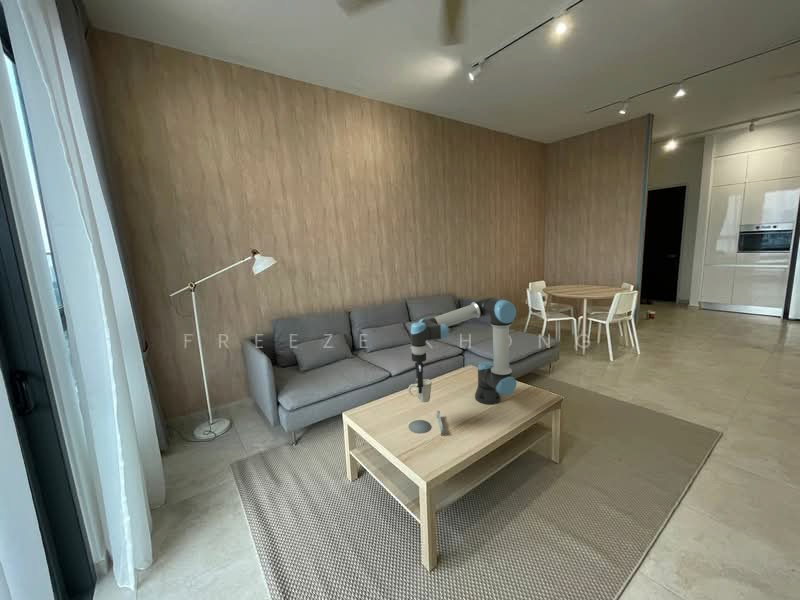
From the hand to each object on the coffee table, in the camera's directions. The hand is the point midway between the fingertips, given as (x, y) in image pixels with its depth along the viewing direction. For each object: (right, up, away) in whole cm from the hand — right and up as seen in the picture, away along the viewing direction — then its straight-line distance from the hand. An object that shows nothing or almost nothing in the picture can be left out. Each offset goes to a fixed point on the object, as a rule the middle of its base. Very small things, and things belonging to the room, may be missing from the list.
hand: (419, 394), depth 166 cm
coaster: (0, -18, +3) cm, 19 cm away
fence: (+11, -18, +3) cm, 21 cm away
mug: (0, -3, +1) cm, 3 cm away
